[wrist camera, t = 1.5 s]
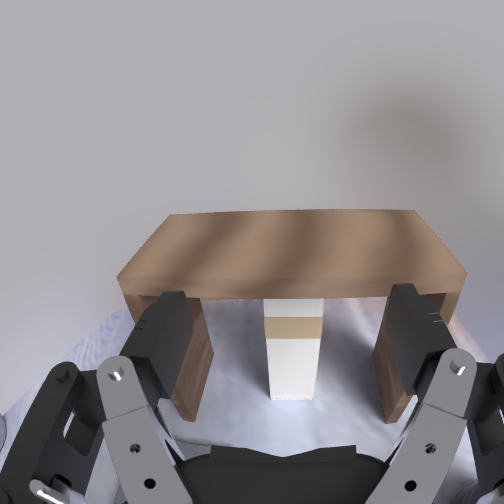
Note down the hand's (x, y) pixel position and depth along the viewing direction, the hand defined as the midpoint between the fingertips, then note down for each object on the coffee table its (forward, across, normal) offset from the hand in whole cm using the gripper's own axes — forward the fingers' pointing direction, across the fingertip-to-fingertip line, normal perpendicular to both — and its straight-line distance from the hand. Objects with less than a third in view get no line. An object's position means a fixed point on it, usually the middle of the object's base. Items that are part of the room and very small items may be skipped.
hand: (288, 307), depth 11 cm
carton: (+11, 0, +20) cm, 23 cm away
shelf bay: (+10, 0, +20) cm, 22 cm away
